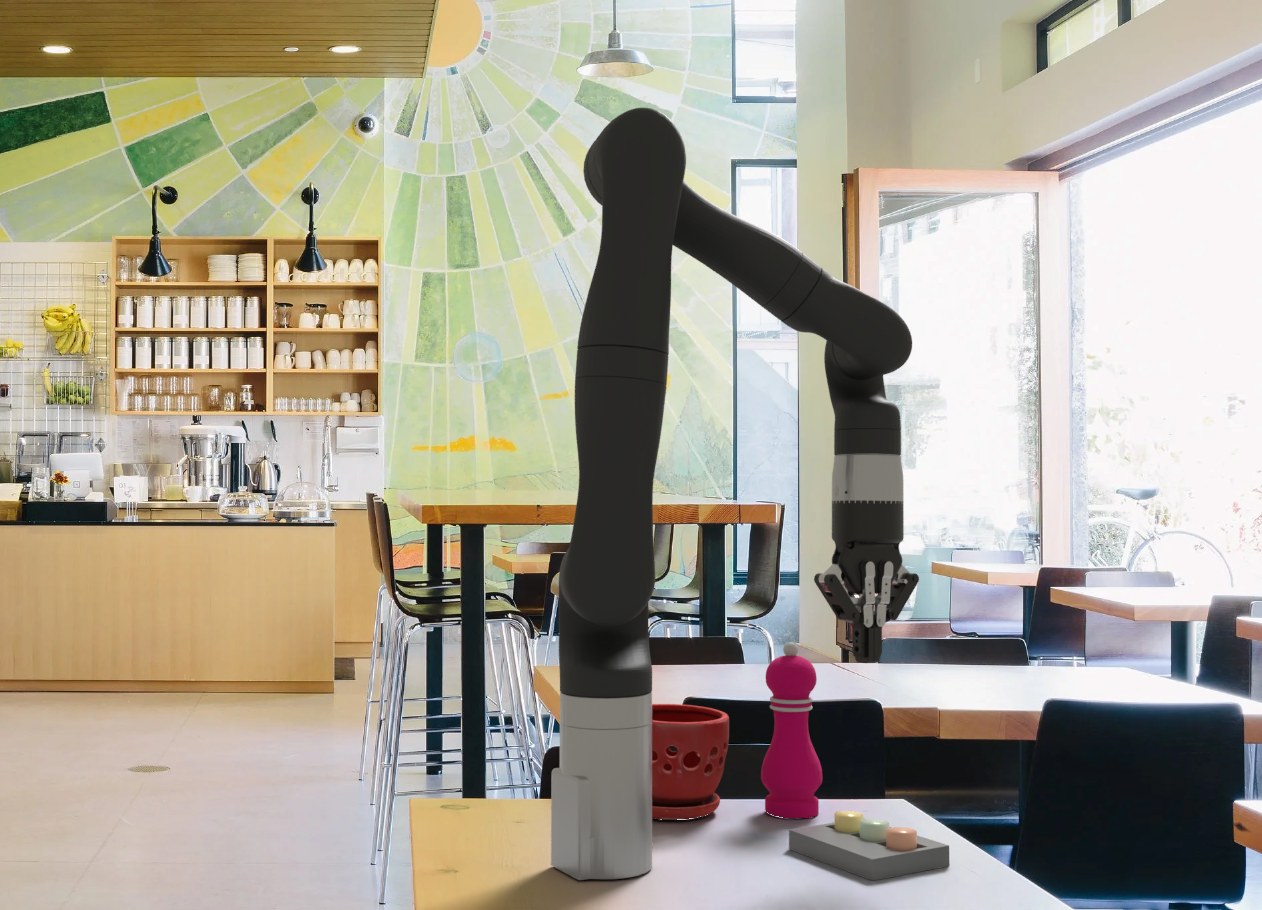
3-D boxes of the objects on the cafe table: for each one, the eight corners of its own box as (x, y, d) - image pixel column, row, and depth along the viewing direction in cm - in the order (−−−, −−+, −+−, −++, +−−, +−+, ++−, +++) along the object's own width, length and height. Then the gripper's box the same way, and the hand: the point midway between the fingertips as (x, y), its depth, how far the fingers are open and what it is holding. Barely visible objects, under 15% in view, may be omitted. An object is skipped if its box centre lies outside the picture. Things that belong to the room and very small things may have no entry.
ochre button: (847, 848, 126) (847, 818, 126) (828, 841, 129) (828, 812, 129) (869, 844, 127) (869, 815, 128) (850, 838, 130) (850, 809, 130)
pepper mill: (821, 806, 146) (819, 639, 147) (824, 821, 139) (823, 645, 140) (760, 805, 147) (759, 638, 148) (761, 819, 140) (760, 644, 141)
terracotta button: (900, 866, 119) (900, 835, 119) (880, 859, 122) (879, 829, 122) (923, 862, 121) (923, 831, 121) (902, 855, 123) (902, 825, 123)
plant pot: (615, 826, 137) (615, 718, 137) (620, 800, 150) (621, 701, 150) (731, 827, 136) (731, 719, 137) (727, 800, 149) (726, 702, 150)
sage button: (873, 857, 123) (873, 827, 123) (853, 850, 125) (853, 820, 125) (895, 853, 124) (895, 823, 124) (875, 846, 127) (875, 817, 127)
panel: (872, 880, 116) (872, 859, 116) (789, 848, 127) (788, 829, 127) (949, 865, 121) (949, 845, 121) (862, 836, 132) (862, 817, 132)
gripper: (841, 496, 123) (840, 669, 122) (938, 499, 129) (939, 663, 128) (795, 497, 129) (795, 661, 128) (891, 500, 136) (891, 656, 135)
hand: (867, 661), depth 128 cm, fingers closed
